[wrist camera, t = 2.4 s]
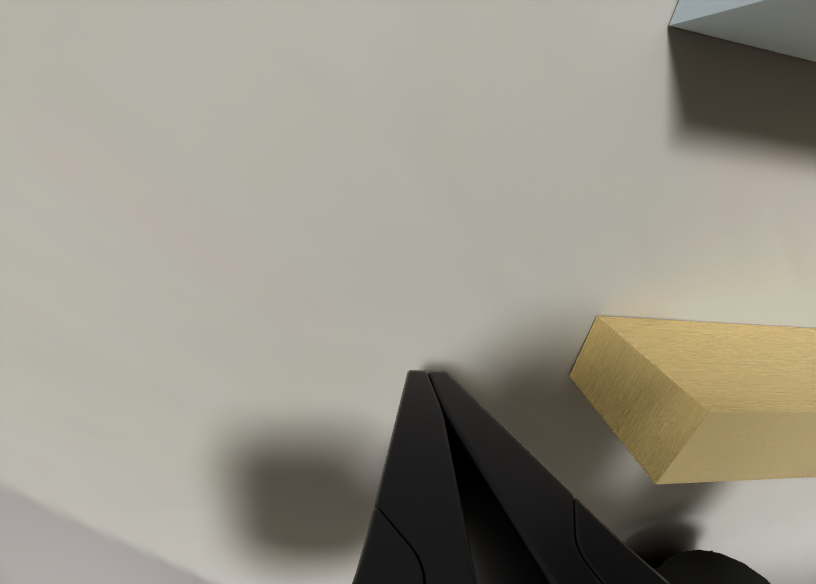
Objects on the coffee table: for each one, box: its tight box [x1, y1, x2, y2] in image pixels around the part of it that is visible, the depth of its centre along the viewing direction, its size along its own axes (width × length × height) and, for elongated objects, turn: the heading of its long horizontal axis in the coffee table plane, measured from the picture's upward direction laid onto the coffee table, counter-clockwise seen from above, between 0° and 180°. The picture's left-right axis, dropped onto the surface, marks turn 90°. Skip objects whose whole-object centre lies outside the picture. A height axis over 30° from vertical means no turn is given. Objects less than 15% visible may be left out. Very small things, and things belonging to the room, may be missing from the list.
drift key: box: [569, 316, 816, 484], centre depth 10 cm, size 10×2×4 cm, turn 82°
